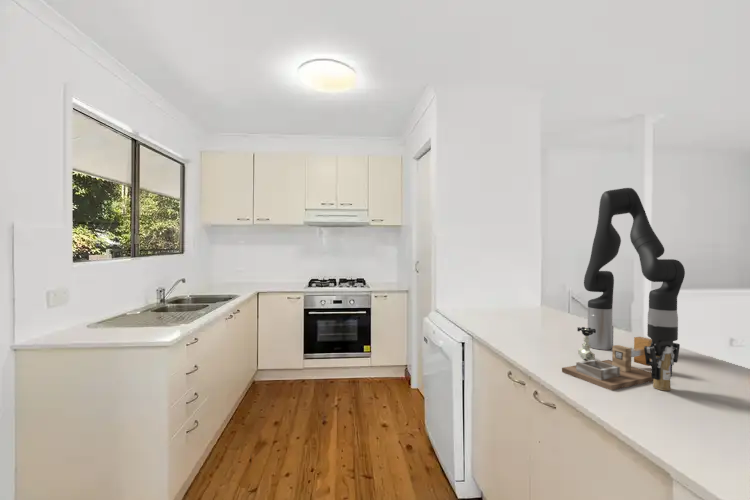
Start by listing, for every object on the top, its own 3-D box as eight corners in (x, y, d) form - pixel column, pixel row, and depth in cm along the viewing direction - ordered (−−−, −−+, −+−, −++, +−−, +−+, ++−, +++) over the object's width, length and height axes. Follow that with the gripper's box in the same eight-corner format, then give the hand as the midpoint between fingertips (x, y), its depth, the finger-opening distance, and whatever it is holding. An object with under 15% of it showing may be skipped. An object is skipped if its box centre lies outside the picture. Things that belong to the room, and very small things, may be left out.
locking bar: (639, 361, 139) (639, 336, 139) (653, 365, 135) (654, 339, 134) (611, 366, 133) (611, 340, 133) (625, 370, 129) (626, 344, 129)
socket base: (608, 363, 142) (608, 339, 142) (660, 379, 126) (660, 351, 126) (561, 372, 133) (562, 345, 133) (611, 390, 117) (611, 360, 116)
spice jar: (672, 392, 115) (672, 348, 115) (653, 389, 117) (654, 346, 117) (669, 387, 119) (670, 344, 119) (651, 384, 121) (652, 342, 121)
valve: (591, 357, 151) (591, 327, 150) (599, 362, 144) (599, 330, 144) (573, 356, 151) (574, 326, 151) (581, 361, 145) (581, 330, 145)
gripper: (663, 319, 124) (663, 371, 124) (635, 323, 118) (634, 377, 119) (690, 323, 117) (689, 378, 117) (661, 327, 112) (660, 385, 112)
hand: (661, 377), depth 118 cm, fingers open, 5 cm apart
